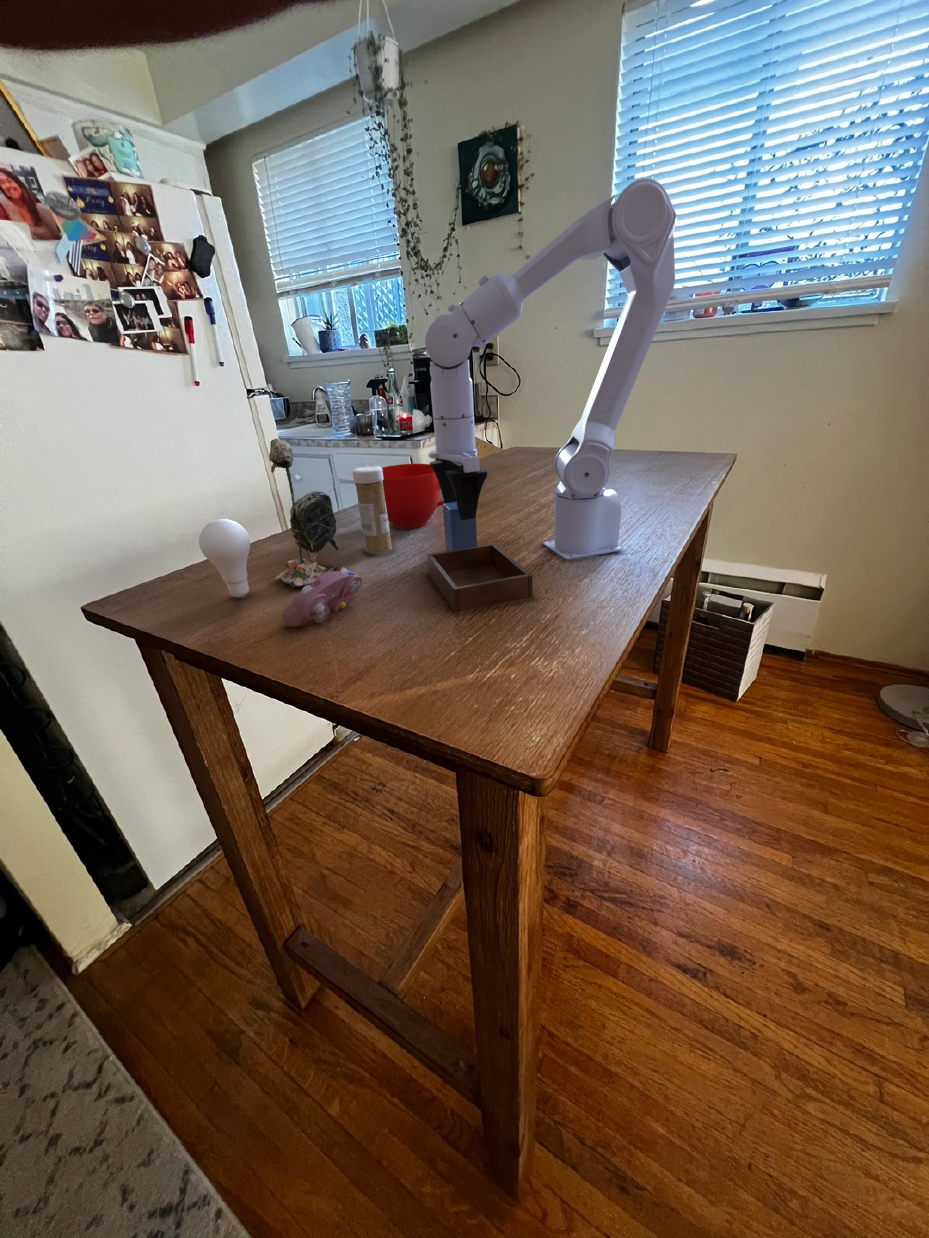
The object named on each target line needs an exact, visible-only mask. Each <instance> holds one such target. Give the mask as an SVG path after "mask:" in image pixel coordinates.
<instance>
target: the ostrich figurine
mask: <svg viewBox="0 0 929 1238" xmlns="http://www.w3.org/2000/svg"><path fill="white" fill-rule="evenodd" d="M268 457H269V461H270V463H272V465H271V470H270V473H274V472H275V470H276V468H280V469H285V472H286V477H287V481H288V487H289V491H290V497H291V498H290V499H291V505H292V506H291V507H290V510H289V515H290V519H289V523H290V531H291V533H292V537H293V538H294V542H295V545H297V546H298V548H299V557H300V558H296V559H291V560H288V561H287V562H286V563H285V567H286V569H285V570H283V571H281V573H278V575H277V576H276V577H275V578H274V580H275V581H276V580H279V579H280V581H283V582H284V583H285V584H287V585H289V586H290V587H291V588H295V587H302V586H307V585H310V584H311V583H312V582H313V581H314V580H315V579H316V578H317V577H318V576H320V575H321V574H324V573H327V572H333V571H335V570H334V569H336V568H337V566H334V567H332V568H330V569H328V570H327V571H326V567H324V566H321V565H319V563H318V562H317V559H318V555H319V552H321V551H322V550H323V549H324V548H325V547H326V545H327V544H328V543H330V544H331V546H332V547H333V549H335V551H340V548H339V547H338V544H337V543H336V541H335V539H334V536H335V534H336V532H337V526H336V524H337V520H336V516H335V513H334V510H333V504H332V503H333V502H332V499H331V497H330V495H329V494H328V493H330V492H331V490H329V491H328V493H326V492H324V491H318V490H312V491H309V492H308V493H306V494H305V495H304V496H302V497H300V498H297V499H296V501H295V494H294V487H293V482H292V477H291V471H290V468H291V467H292V466H293V462H294V449H293V447H292V445H291V444H290V443H288V442H287V441H285V440H283V439H280V438H273V439H272V440H270V450H269V454H268ZM302 549H303V550H305V551H306V553H307V558H303V557H302Z"/></svg>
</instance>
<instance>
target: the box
mask: <svg viewBox="0 0 929 1238" xmlns="http://www.w3.org/2000/svg"><path fill="white" fill-rule="evenodd" d="M426 559H427V568H428V575H429V577H430V578H431V579H432V581H433V582H434V584H435V585H436V586H437V588H438V589H439V591H440V592H441V593H442V595H443V596H444V598H445V599H446V601H447V602H448V603H449V605H450V607H451V608H452V610H453V611H454V612H455V613H460V612H465V611H469V610H475V609H480V608H485V607H490V606H495V605H499V604H500V605H501V604H505V603H510V602H515V601H521V600H525V599H530V598H533V574H532V573H531V572H529V570H527V569H526V568H525V567H524V566H522V565H521V564H520V563H519V562H518V561H517V560H515V559H514V558H512V556H511V555H509V554H508V553H506V552H505V551H504V549H501V547H500V546H498V545H497V544H496V543H489V544H483V545H477V546H476V547H470V548H464V549H458V550H452V551H446V550H445V551H441V552H433V553H428V554H427V555H426Z"/></svg>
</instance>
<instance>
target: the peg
mask: <svg viewBox="0 0 929 1238" xmlns="http://www.w3.org/2000/svg"><path fill="white" fill-rule="evenodd" d="M442 513H443V525H444V528H443V529H444V539H445V552H446V551H452V550H458V549H464V548H470V547H476V546H478V531H477V516H476V517H475V519H468V520H461V518H460V516H459V512H458V508H457V502H452V503H445V504H443V505H442Z"/></svg>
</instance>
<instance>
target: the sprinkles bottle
mask: <svg viewBox="0 0 929 1238" xmlns="http://www.w3.org/2000/svg"><path fill="white" fill-rule="evenodd" d="M352 477H353V482H354V485H355V489H356V495H357V504H358V510H359V517H360V523H361V530H362V534H363V538H364V545H365V553H366V554H373V555H378V554H379V555H380V554H385V553H388V552H390V551H391V550H393V545H392V539H391V533H390V530H391V529H390V522H389V521H388V515H387V508H386V502H385V496H384V489H383V472H382V467H381V466H377V465H370V466H369V465H368V466H362V467H361V466H360V467H357V468H354V469H353V470H352Z"/></svg>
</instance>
